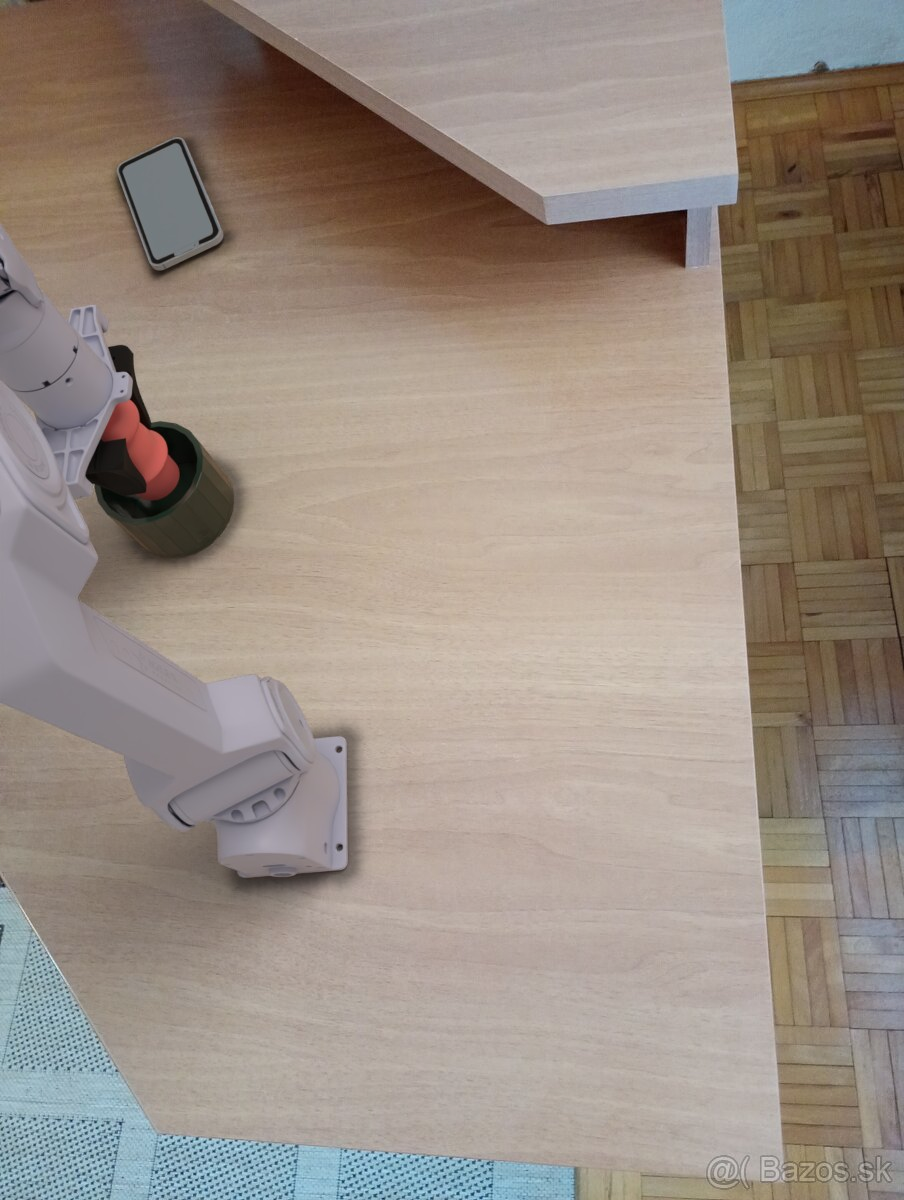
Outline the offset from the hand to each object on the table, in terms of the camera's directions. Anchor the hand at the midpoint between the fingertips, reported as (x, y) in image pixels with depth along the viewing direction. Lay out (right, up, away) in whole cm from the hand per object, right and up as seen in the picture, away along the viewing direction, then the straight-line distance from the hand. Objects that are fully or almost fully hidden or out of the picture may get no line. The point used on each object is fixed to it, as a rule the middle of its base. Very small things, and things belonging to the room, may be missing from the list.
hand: (136, 459), depth 81 cm
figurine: (+1, -1, +3) cm, 3 cm away
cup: (+2, -3, +7) cm, 8 cm away
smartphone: (-3, +27, +21) cm, 34 cm away
